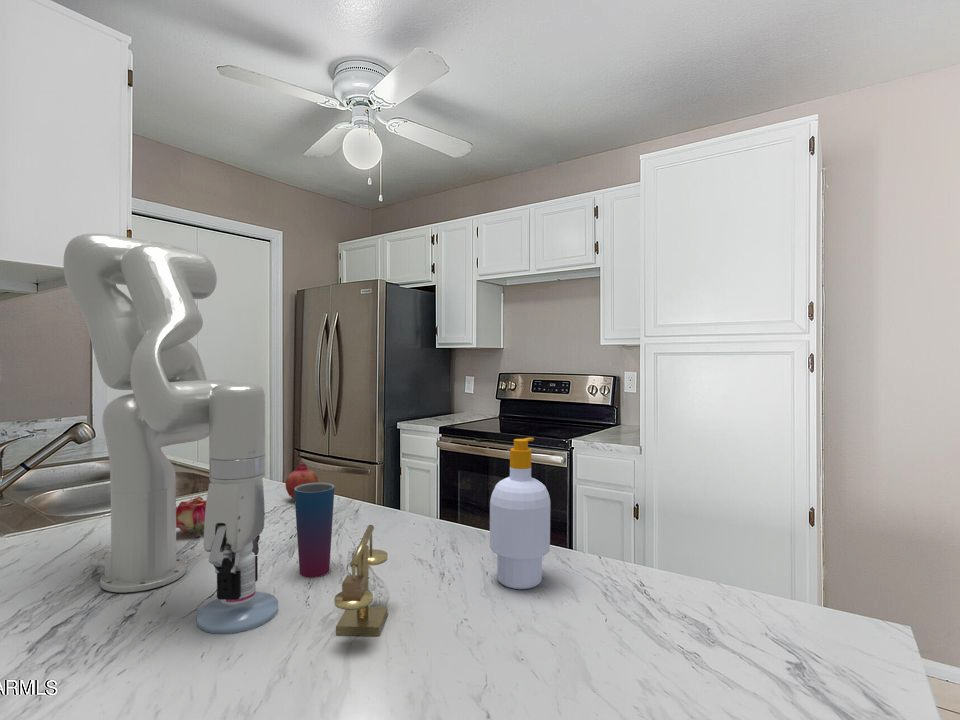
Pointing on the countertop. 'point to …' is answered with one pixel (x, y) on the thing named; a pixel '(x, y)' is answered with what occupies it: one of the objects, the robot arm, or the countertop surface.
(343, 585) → the balance
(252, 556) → the pill bottle
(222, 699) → the countertop surface
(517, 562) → the soap bottle
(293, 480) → the fruit
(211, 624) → the saucer
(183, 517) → the flower
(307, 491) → the cup
